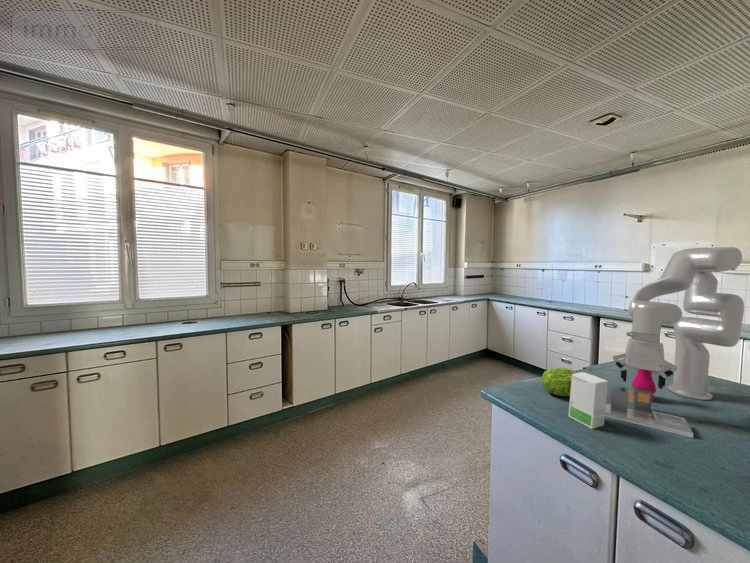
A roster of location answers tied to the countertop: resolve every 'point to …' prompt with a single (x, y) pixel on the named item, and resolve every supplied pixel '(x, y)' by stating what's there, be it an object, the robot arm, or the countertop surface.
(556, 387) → the lettuce
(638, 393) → the grey block
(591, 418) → the skincare box
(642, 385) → the pepper mill
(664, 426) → the rail
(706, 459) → the countertop surface
